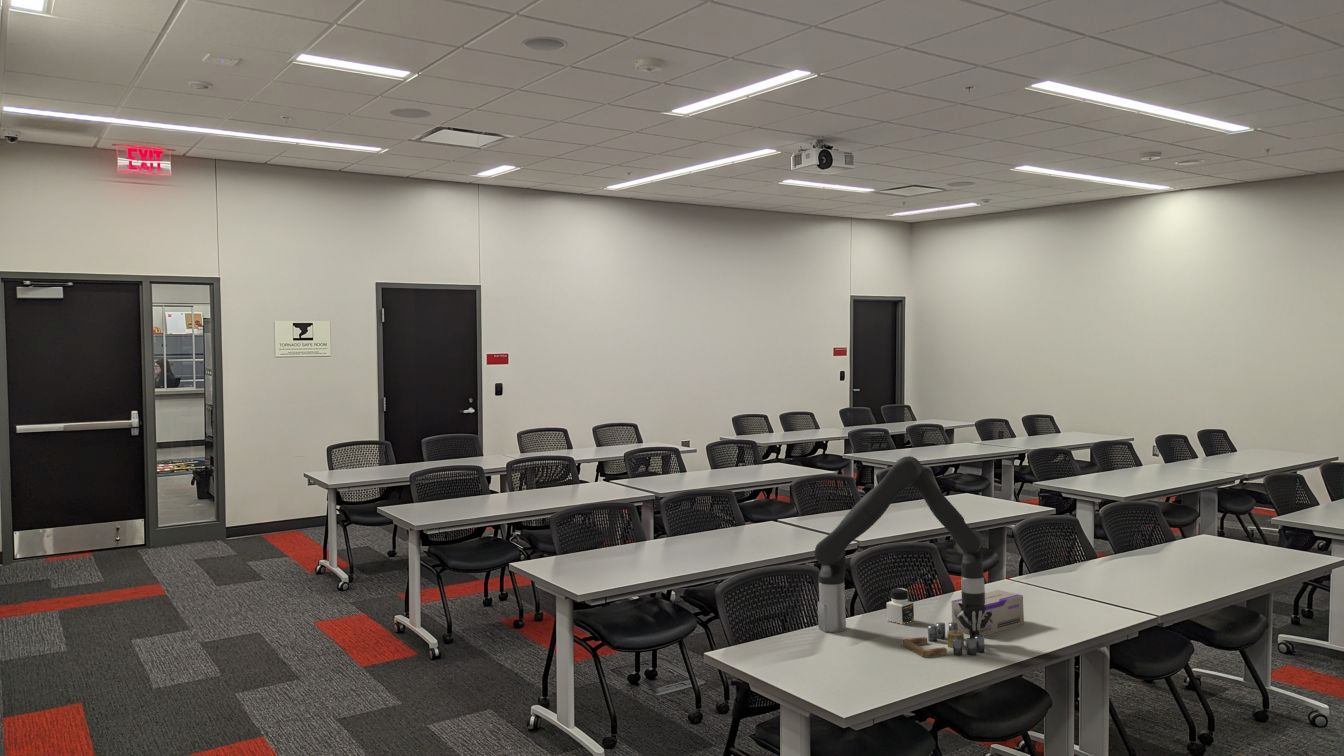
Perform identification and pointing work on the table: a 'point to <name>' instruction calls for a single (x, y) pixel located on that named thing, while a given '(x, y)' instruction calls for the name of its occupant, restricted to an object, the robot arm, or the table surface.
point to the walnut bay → (914, 647)
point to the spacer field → (956, 639)
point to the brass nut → (954, 635)
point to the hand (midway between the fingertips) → (974, 640)
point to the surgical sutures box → (995, 612)
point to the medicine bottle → (900, 607)
